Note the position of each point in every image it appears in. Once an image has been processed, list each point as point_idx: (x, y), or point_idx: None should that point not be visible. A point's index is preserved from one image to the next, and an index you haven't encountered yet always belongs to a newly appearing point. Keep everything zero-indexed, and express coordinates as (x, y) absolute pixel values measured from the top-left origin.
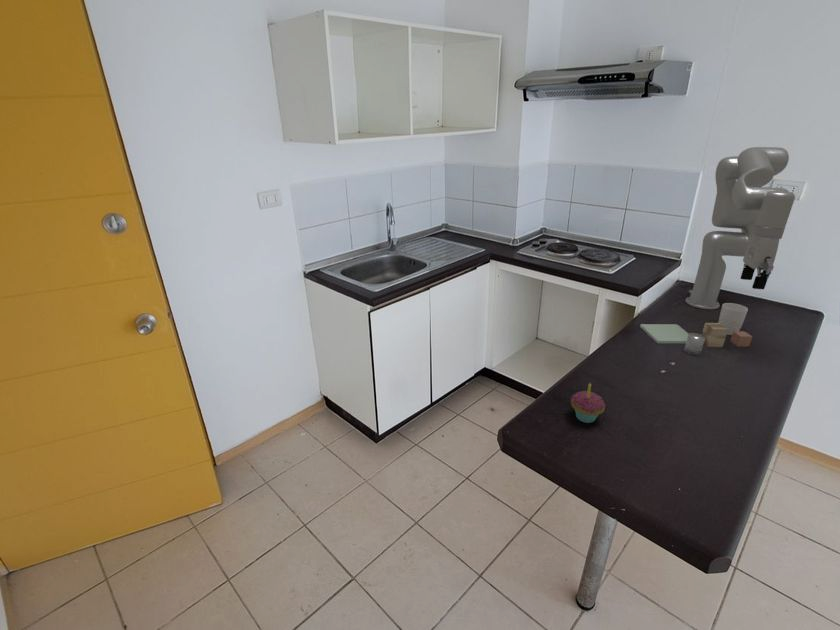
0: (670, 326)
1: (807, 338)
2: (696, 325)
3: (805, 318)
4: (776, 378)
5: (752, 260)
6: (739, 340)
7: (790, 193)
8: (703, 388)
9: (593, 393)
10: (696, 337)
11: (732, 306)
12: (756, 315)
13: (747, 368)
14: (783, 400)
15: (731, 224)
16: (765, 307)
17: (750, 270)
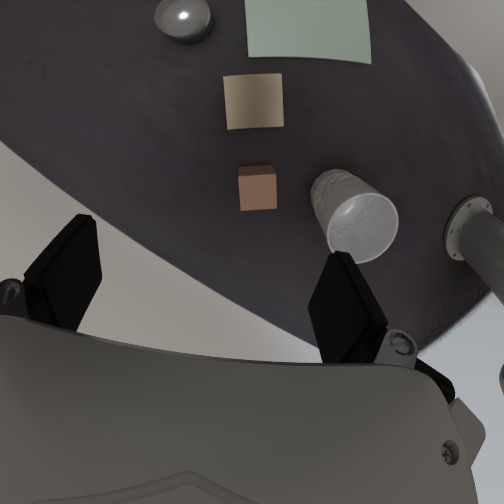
0: (354, 35)
1: (289, 332)
2: (376, 129)
3: None
4: (81, 176)
5: (14, 444)
6: (238, 172)
7: None
8: (33, 24)
9: None
10: (169, 8)
11: (385, 235)
12: (398, 302)
13: (111, 132)
14: (17, 152)
15: None
16: (417, 329)
17: (335, 347)
